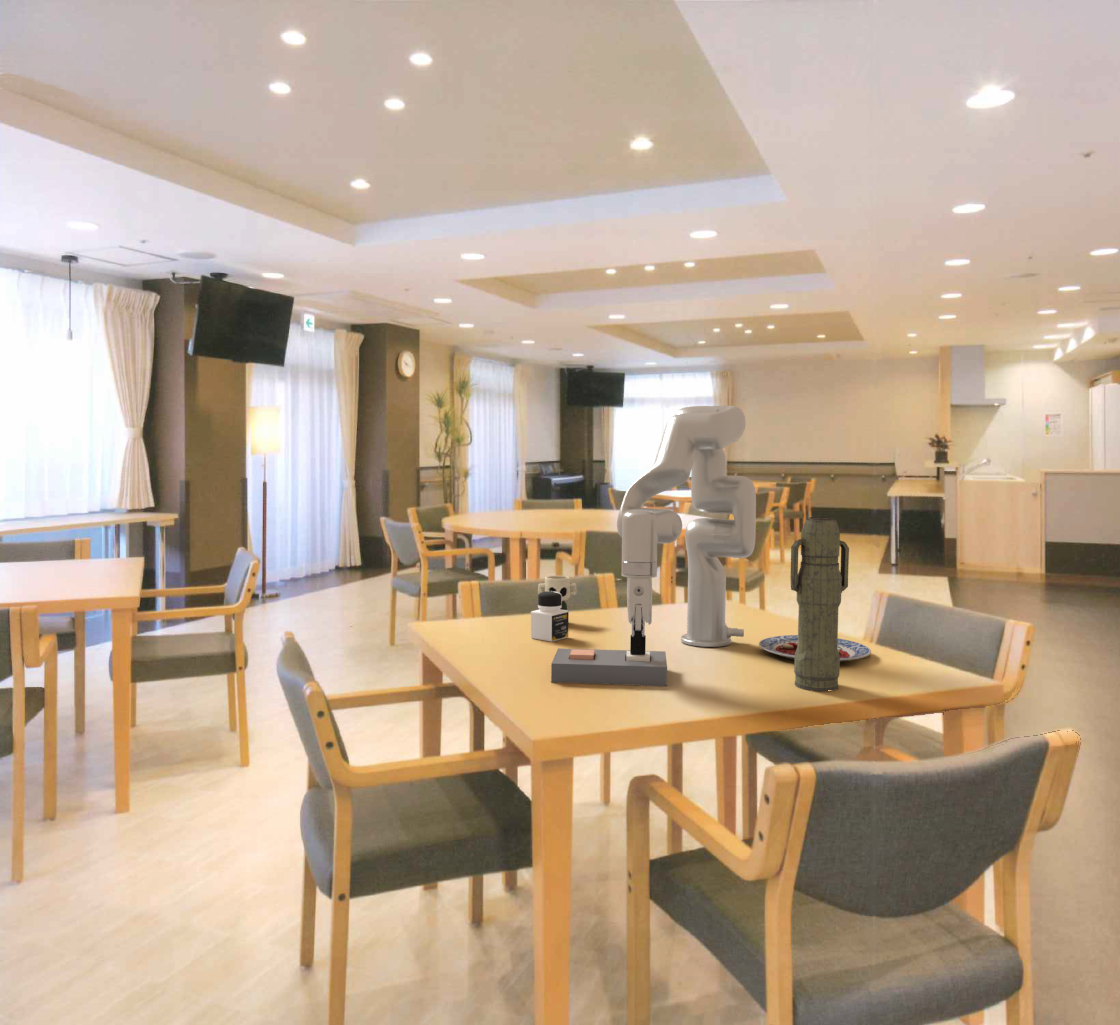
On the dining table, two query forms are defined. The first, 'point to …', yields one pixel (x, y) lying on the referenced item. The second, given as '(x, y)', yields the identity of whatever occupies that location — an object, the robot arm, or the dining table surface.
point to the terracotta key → (582, 654)
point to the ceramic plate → (790, 643)
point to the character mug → (559, 587)
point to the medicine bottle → (549, 618)
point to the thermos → (818, 602)
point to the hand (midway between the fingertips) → (637, 653)
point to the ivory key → (638, 657)
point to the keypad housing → (609, 668)
